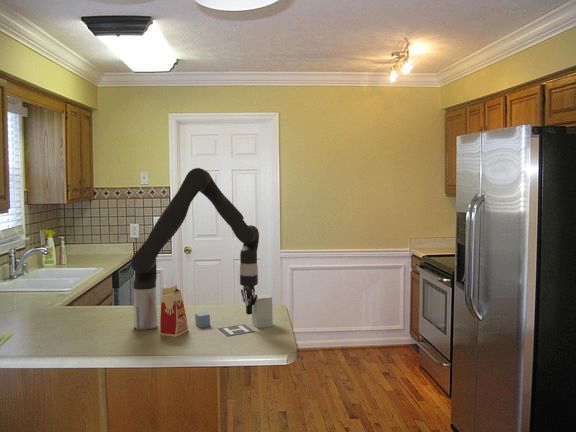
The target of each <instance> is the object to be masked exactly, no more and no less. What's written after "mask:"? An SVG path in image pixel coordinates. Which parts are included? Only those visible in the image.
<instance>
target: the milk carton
mask: <svg viewBox="0 0 576 432" xmlns="http://www.w3.org/2000/svg"><path fill="white" fill-rule="evenodd" d="M161 290H162V292H161V298H160V299H161V301H160V318H159V319H160V320H159V321H160V322H159V330H160V331H159V336H165V337H166V336H167V337H168V336H169V337H174V338H177V337H178V336H180V335H182V334H184V333H186V332H188V331H189V325H188V319H187V314H186V309H185V304H184V301H183V296H182V293H181V290H180V289H179V288H178V285H174V286H169V287H164V288H161Z"/></svg>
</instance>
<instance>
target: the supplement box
mask: <svg viewBox="0 0 576 432" xmlns="http://www.w3.org/2000/svg"><path fill="white" fill-rule="evenodd" d="M256 295H257V299H256V302H255V305H252V314H251V324H252V325H253V326H254V327H255V328H256V329H259V328H261V329H262V328H270V327H273V326H274V323H273V322H274V321H273V319H274V318H273V297H272V296H270V295H269V294H268V293H262V294H256Z"/></svg>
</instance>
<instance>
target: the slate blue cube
mask: <svg viewBox="0 0 576 432" xmlns="http://www.w3.org/2000/svg"><path fill="white" fill-rule="evenodd" d="M194 315H195V316H194V317H195V320H194V321H195V325H196V326H197V328H206V327H211V314H209V313H208V312H207V311H205V312H197V313H195V314H194Z"/></svg>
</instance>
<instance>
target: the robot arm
mask: <svg viewBox="0 0 576 432" xmlns="http://www.w3.org/2000/svg"><path fill="white" fill-rule="evenodd" d="M184 177H185V178H184V179H183V181H182V183H181V185H180V187H179V188H178V190H177V192H176V193H175V195H174V196H173V198H172V199H170V200H171V201H170V202H169V203H168V205H167V206H166V208H165V209H164V210H163V212H161V215H160V216H159V218H158V219H157V221H156V223H155V224H154V226H153V227H152V230H151V231H150V233H149V235H148V237H147V238H146V240H145V241H144V242H143V244H142V245H141V246H140V248H139V249H138V250H137V251H136V252H135V253H134V254H133V255H132V257H131V260H130V265H131V268H132V271H134V279H133V283H132V284H133V301H134V303H133V305H132V306H133V323H134V324H133V326H134V328H135V329H136V331H138V330H139V331H140V330H152V329H155V328H157V327H158V307H157V305H158V304H157V277H158V276H157V275H158V273H157V257H158V255H159V254H160V252H161V250H162V249H163V248H164V247H165V246H166V244H167V243H168V242H170V241H171V239H172V238H173V237H174V235H176V233H177V232H178V231H179V230H180V227H181V226H182V224H183V223H184V222H185V220H186V217H187V214H188V212H189V208H190V206H191V203H192V202H193V201H194V199H195V197H196V196H197V195H198V194H199V192H200V193H201V194H202V195H203V196H204V197H206V199H208V200H209V202H211V203H212V205H213V206H214V208H215V210H216V211H217V213H218V214H219V216H220V217H221V218H222V219H223V221H225V223H226V224H227V225H228V226H229V227H230V229H231V230H232V232H233V234H234V235H235V237H236V238H237V239H238V240H239V241H240V242H241V243H243V245H242V249H241V250H240V254H239V260H240V261H239V264H240V265H239V286H242V289H240V293H241V297H242V301H243V303H244V305H245V314H246V315H252V305H255V302H256V299H257V295H258V294H255V293H256V290H255V289H256V288H255V286H257V285H258V284H259V269H258V268H259V267H258V248H259V243H260V242H259V241H260V232H259V230H258V228H257V226H255V225H248V224H247V223H246V222H245V220H244V216H243V213H241V212H240V211H239V210H238V208H237V207H236V206H235V205H234V204H233V203H232V202H231V201H230V199H228V197H226V196H225V194H224V193H223V192H222V191H221V190H220V188H219V186H218V185H217V183H216V182H215V180H214V179H213V177H212V175H211V174H210V172H208V171H207V170H205V169H203V168H201V167H194V168H192V169H190V170H189V171H188V172H187V173H186V176H184Z"/></svg>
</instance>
